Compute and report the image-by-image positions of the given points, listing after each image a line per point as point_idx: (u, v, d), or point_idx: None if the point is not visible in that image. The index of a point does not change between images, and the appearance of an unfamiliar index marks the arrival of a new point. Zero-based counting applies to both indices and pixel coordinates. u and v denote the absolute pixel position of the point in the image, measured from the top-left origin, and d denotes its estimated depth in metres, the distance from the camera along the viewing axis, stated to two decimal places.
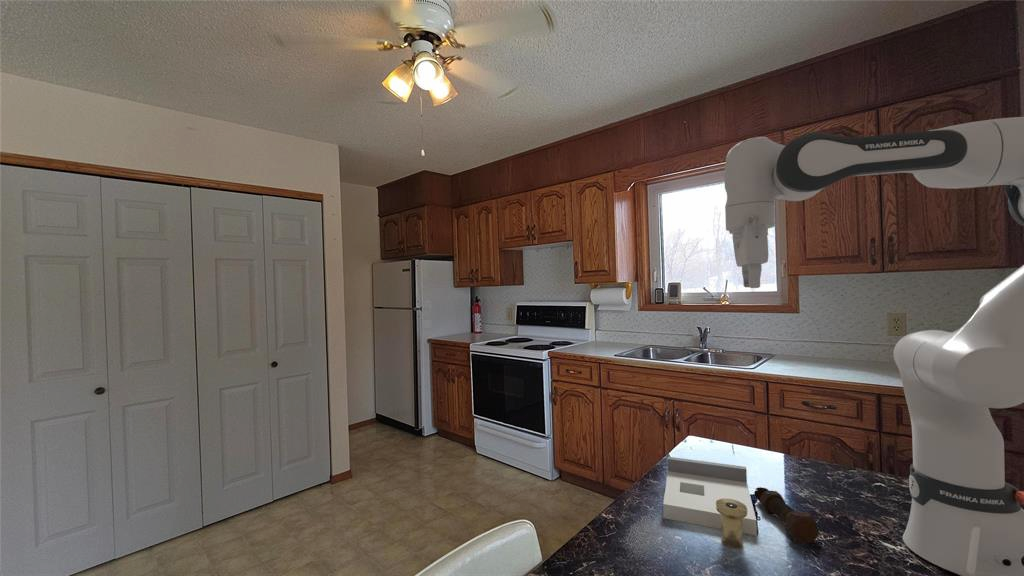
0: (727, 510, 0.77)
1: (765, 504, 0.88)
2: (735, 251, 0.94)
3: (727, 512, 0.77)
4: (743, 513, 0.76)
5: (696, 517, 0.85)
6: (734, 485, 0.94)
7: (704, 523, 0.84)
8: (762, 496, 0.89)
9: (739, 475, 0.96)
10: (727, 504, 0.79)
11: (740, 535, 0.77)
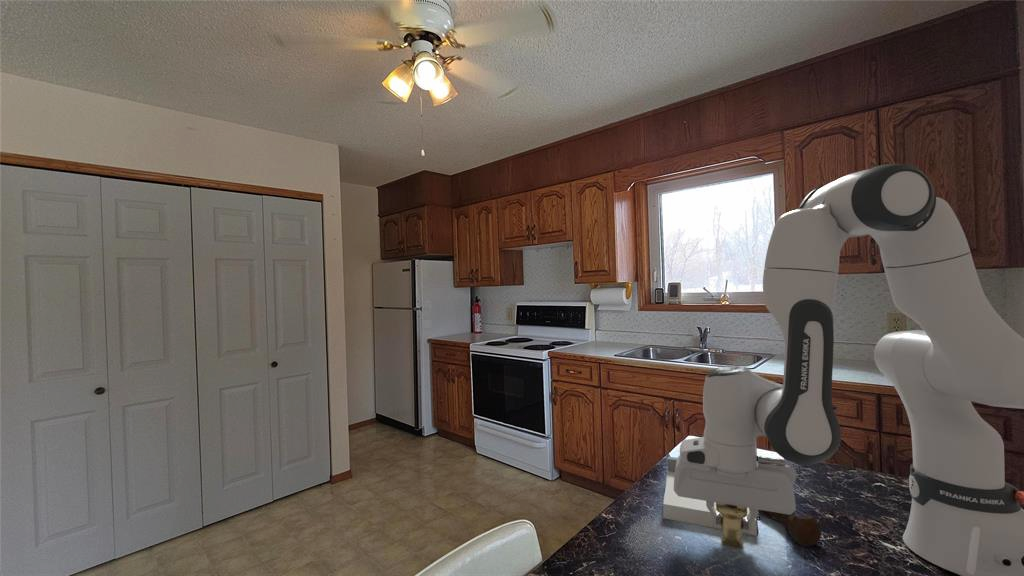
0: (727, 510, 0.77)
1: None
2: (681, 480, 0.80)
3: (727, 512, 0.77)
4: (743, 513, 0.76)
5: (696, 517, 0.85)
6: None
7: (704, 523, 0.84)
8: None
9: None
10: (727, 504, 0.79)
11: (740, 535, 0.77)
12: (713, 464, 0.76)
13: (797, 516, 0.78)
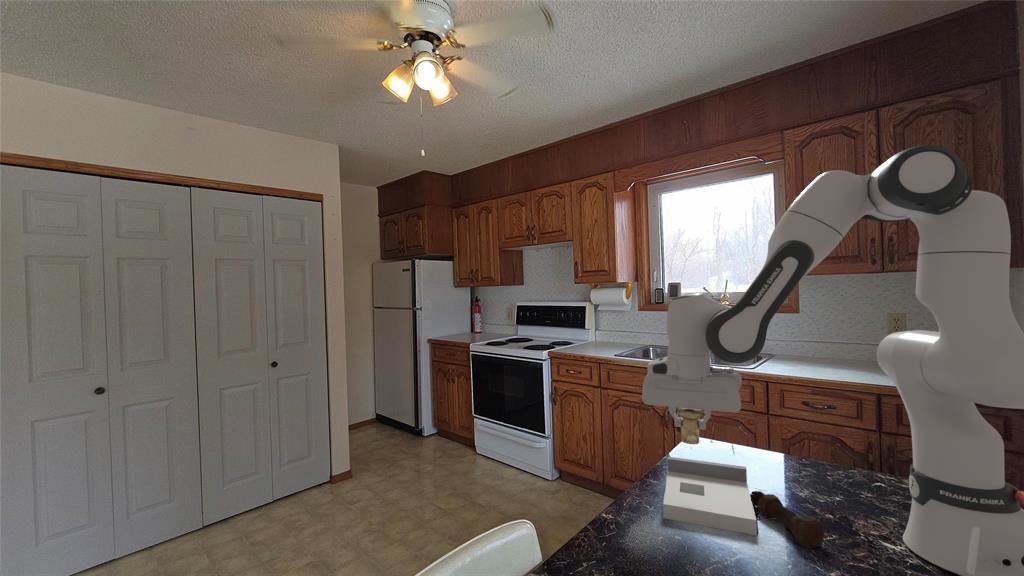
0: (685, 412, 0.92)
1: (764, 509, 0.86)
2: (648, 390, 0.95)
3: (685, 413, 0.91)
4: (698, 414, 0.91)
5: (696, 517, 0.85)
6: (734, 485, 0.94)
7: (704, 523, 0.84)
8: (760, 500, 0.87)
9: (739, 475, 0.96)
10: (686, 409, 0.94)
11: (696, 433, 0.92)
12: (673, 373, 0.91)
13: (800, 518, 0.78)
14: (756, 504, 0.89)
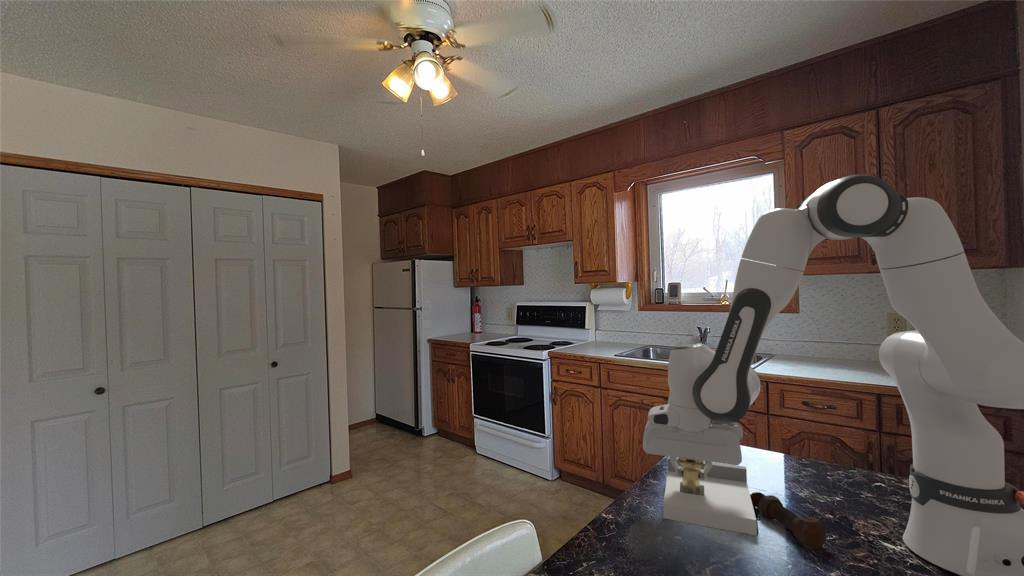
0: (686, 463, 0.92)
1: (765, 510, 0.86)
2: (649, 439, 0.95)
3: (686, 465, 0.91)
4: (699, 465, 0.91)
5: (696, 517, 0.85)
6: (734, 485, 0.94)
7: (704, 523, 0.84)
8: (761, 502, 0.87)
9: (739, 475, 0.96)
10: (687, 459, 0.94)
11: (697, 484, 0.92)
12: (674, 424, 0.91)
13: (802, 519, 0.77)
14: (756, 505, 0.89)
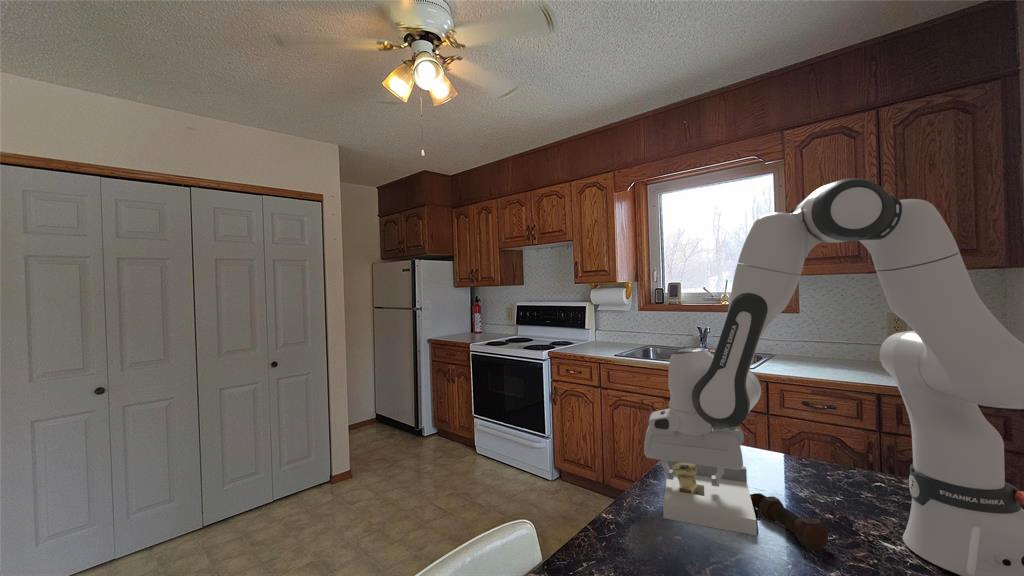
0: (680, 470, 0.92)
1: (766, 511, 0.85)
2: (650, 444, 0.95)
3: (680, 472, 0.92)
4: (693, 471, 0.92)
5: (696, 517, 0.85)
6: (734, 485, 0.94)
7: (704, 523, 0.84)
8: (762, 503, 0.86)
9: (739, 475, 0.96)
10: (681, 466, 0.94)
11: (695, 490, 0.92)
12: (675, 429, 0.91)
13: (805, 520, 0.77)
14: (757, 506, 0.88)
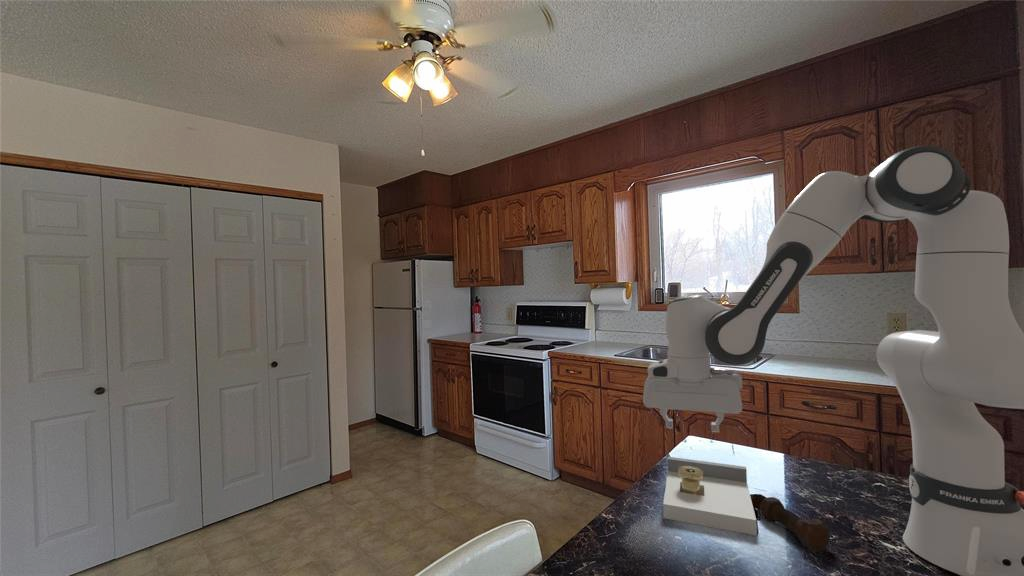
0: (686, 474, 0.92)
1: (767, 512, 0.85)
2: (649, 393, 0.95)
3: (686, 475, 0.92)
4: (699, 476, 0.91)
5: (696, 517, 0.85)
6: (734, 485, 0.94)
7: (704, 523, 0.84)
8: (762, 504, 0.86)
9: (739, 475, 0.96)
10: (687, 469, 0.94)
11: (697, 494, 0.92)
12: (674, 375, 0.91)
13: (806, 521, 0.77)
14: (757, 507, 0.88)
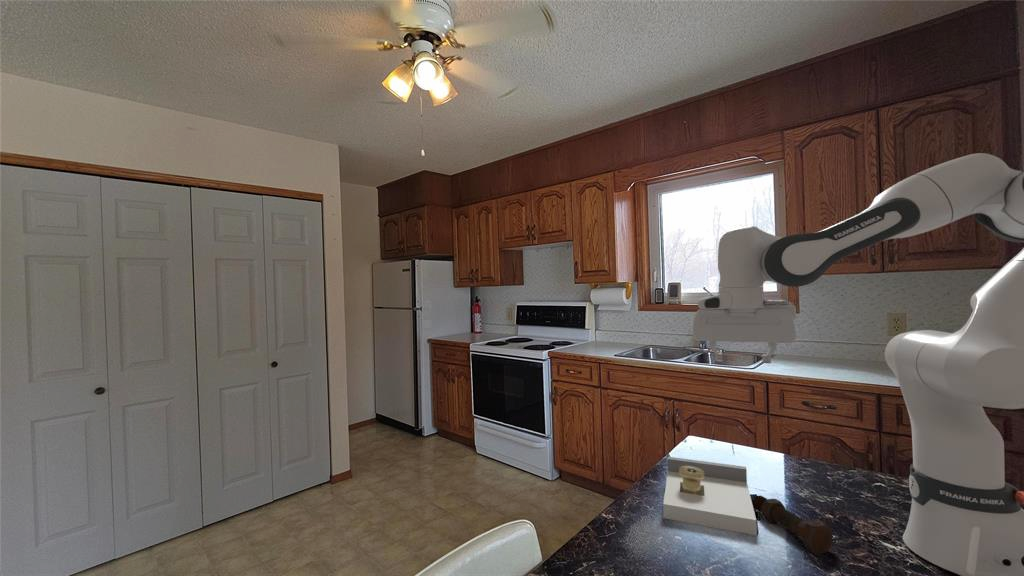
0: (689, 474, 0.92)
1: (768, 514, 0.84)
2: (699, 326, 0.95)
3: (689, 475, 0.91)
4: (702, 476, 0.91)
5: (696, 517, 0.85)
6: (734, 485, 0.94)
7: (704, 523, 0.84)
8: (764, 506, 0.85)
9: (739, 475, 0.96)
10: (688, 469, 0.94)
11: (698, 494, 0.92)
12: (727, 306, 0.91)
13: (809, 523, 0.76)
14: (758, 509, 0.87)
